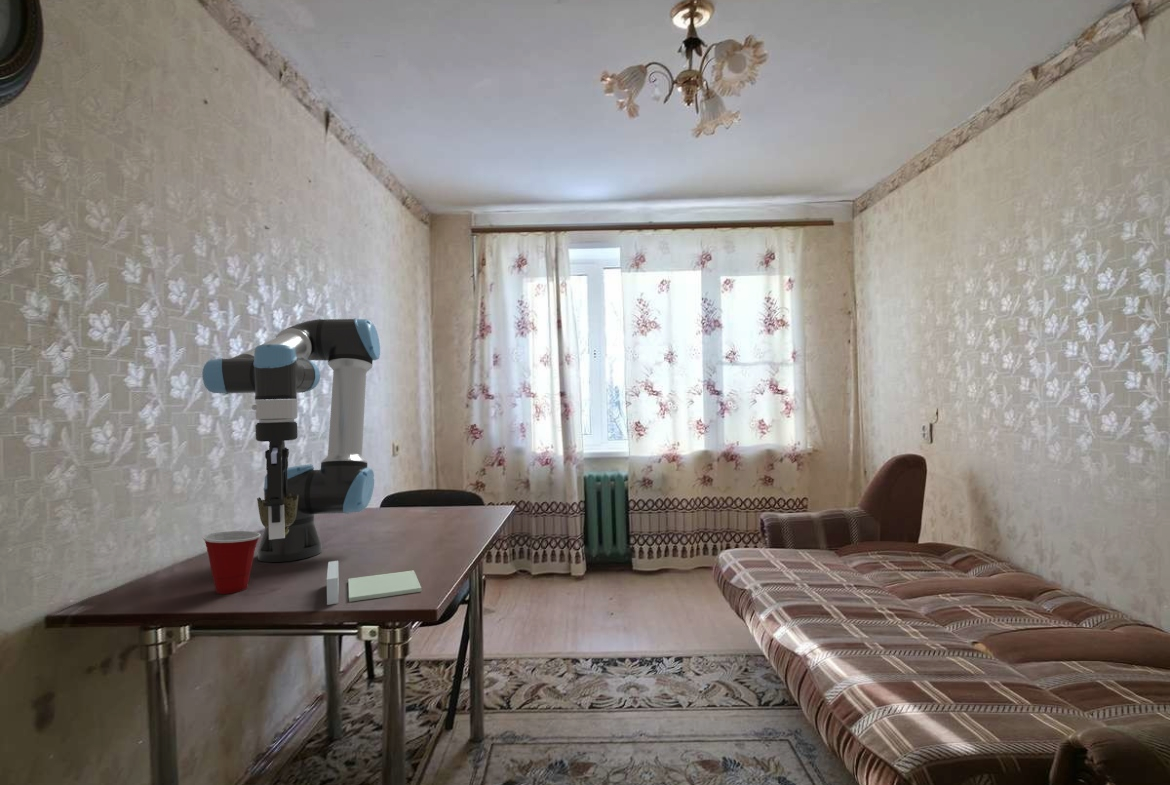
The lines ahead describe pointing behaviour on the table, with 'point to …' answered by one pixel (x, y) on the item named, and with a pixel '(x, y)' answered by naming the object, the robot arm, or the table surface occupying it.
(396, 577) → the green pad
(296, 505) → the cup
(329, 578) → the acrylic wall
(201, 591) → the table surface
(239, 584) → the plastic cup
